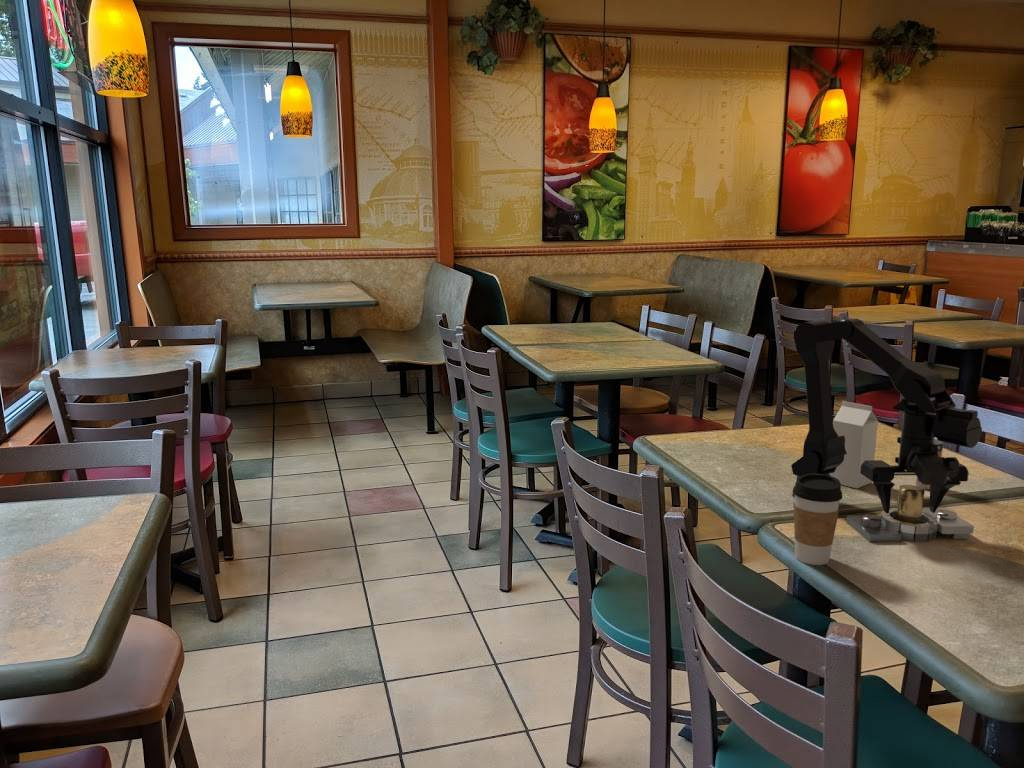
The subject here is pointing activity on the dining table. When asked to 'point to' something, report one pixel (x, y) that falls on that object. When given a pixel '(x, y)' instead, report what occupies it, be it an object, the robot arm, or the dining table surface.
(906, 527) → the upper link
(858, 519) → the lower link
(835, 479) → the coffee cup
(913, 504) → the pin
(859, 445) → the milk carton
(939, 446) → the beer can
